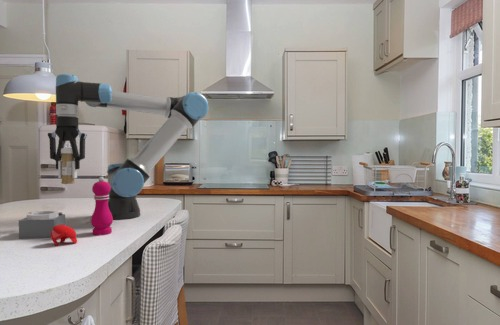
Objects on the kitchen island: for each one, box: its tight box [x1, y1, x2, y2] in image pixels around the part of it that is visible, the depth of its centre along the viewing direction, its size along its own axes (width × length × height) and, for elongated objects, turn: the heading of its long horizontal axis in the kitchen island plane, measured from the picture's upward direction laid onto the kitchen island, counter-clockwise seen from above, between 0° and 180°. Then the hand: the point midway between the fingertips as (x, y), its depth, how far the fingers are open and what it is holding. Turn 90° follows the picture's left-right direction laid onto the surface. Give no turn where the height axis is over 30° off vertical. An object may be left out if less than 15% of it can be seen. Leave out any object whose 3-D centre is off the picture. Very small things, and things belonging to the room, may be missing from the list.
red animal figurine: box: [50, 224, 78, 247], centre depth 113 cm, size 8×6×6 cm
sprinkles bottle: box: [60, 147, 75, 185], centre depth 136 cm, size 5×5×14 cm
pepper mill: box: [90, 176, 114, 236], centre depth 126 cm, size 7×7×20 cm
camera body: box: [18, 210, 66, 239], centre depth 125 cm, size 11×10×8 cm
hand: (67, 177), depth 136 cm, fingers closed on sprinkles bottle, 4 cm apart
